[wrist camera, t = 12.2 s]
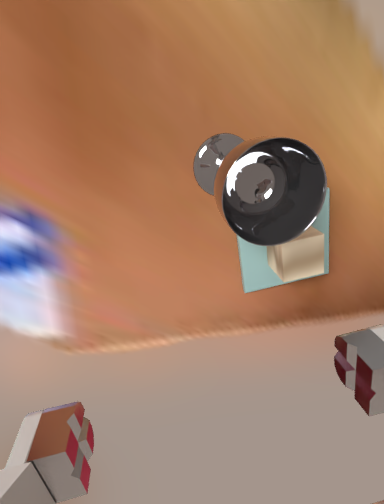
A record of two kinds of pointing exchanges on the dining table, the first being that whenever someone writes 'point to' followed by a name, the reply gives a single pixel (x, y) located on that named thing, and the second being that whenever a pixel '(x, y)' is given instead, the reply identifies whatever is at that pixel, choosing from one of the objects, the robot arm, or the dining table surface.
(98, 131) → the dining table surface
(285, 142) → the wine glass
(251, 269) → the pad
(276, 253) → the cube
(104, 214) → the dining table surface
